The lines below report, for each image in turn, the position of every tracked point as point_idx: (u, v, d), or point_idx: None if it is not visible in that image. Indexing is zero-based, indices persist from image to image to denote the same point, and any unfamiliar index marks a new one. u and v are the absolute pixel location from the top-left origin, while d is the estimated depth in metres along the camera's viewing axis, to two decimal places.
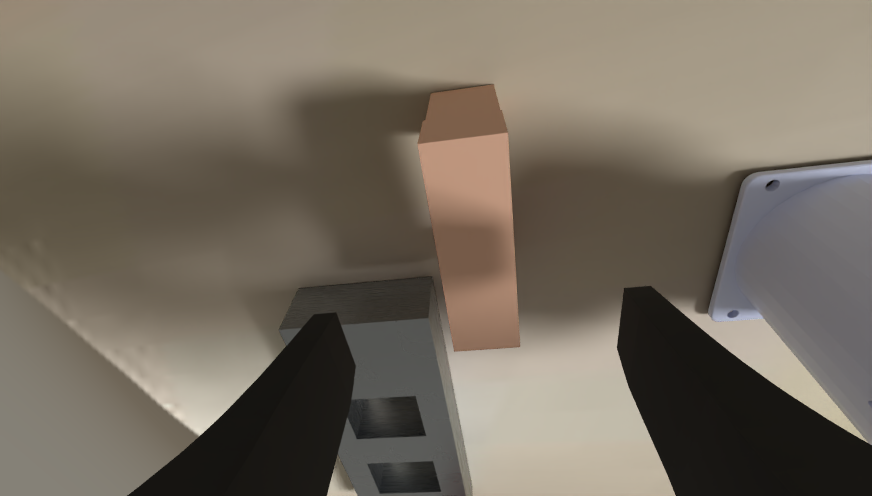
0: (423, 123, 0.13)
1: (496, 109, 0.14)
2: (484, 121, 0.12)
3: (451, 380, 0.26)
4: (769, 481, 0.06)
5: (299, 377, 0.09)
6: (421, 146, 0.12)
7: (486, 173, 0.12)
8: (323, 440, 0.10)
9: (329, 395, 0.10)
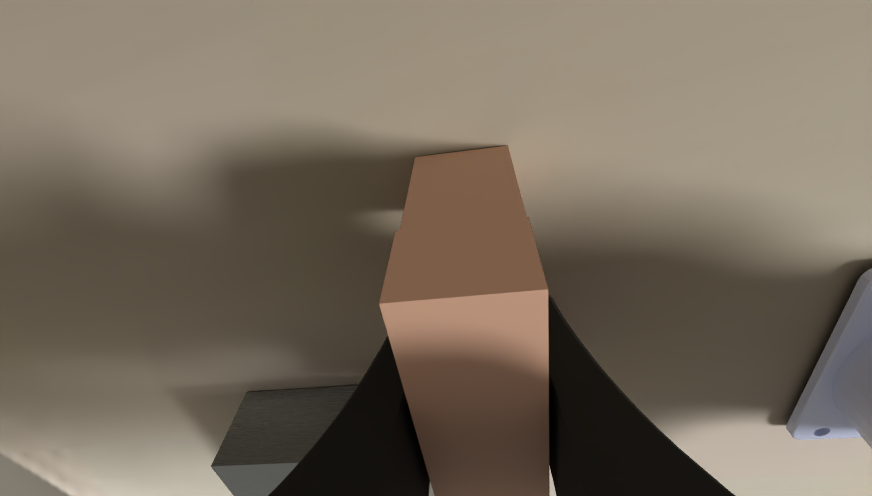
0: (395, 239, 0.08)
1: (517, 205, 0.08)
2: (501, 247, 0.07)
3: None
4: (581, 488, 0.06)
5: None
6: (386, 307, 0.06)
7: (504, 347, 0.07)
8: None
9: None
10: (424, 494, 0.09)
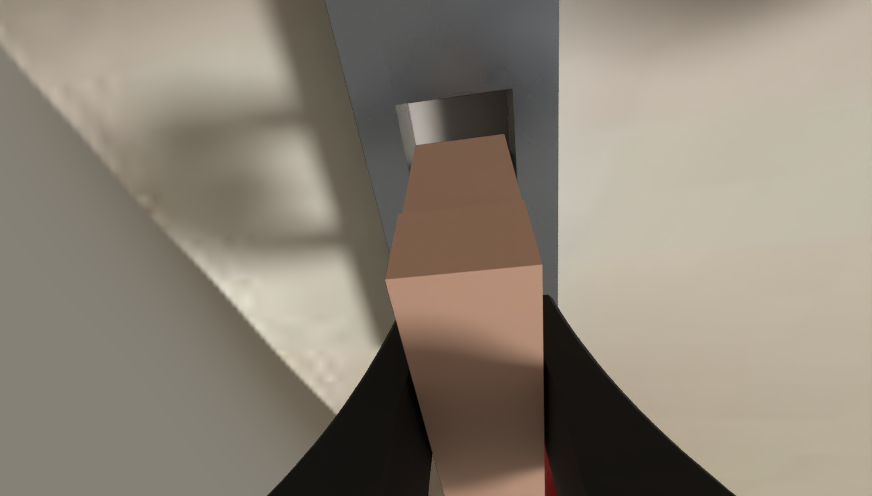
0: (398, 221, 0.08)
1: (513, 190, 0.09)
2: (498, 228, 0.07)
3: None
4: (581, 487, 0.06)
5: None
6: (391, 283, 0.07)
7: (502, 320, 0.07)
8: (425, 435, 0.09)
9: None
10: (423, 494, 0.09)
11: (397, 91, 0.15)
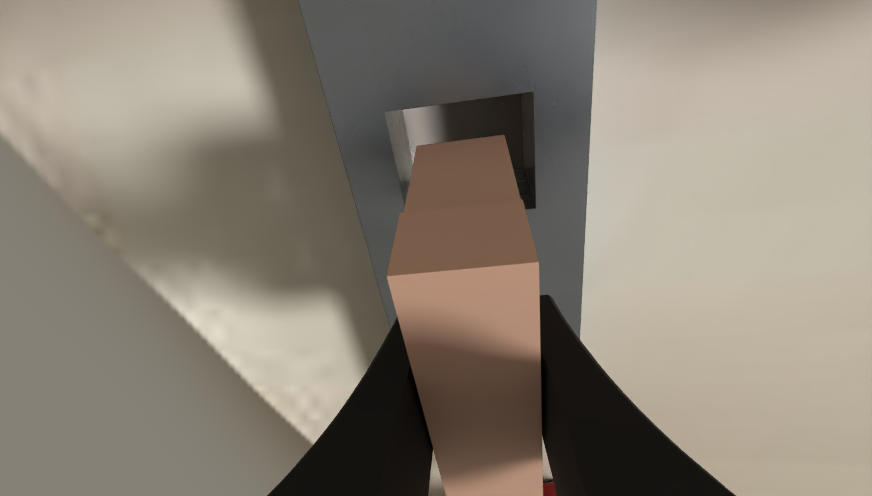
0: (400, 220, 0.08)
1: (512, 189, 0.09)
2: (497, 226, 0.08)
3: None
4: (581, 487, 0.06)
5: (411, 370, 0.09)
6: (393, 279, 0.07)
7: (500, 317, 0.07)
8: (425, 435, 0.09)
9: None
10: (423, 494, 0.09)
11: (387, 95, 0.12)
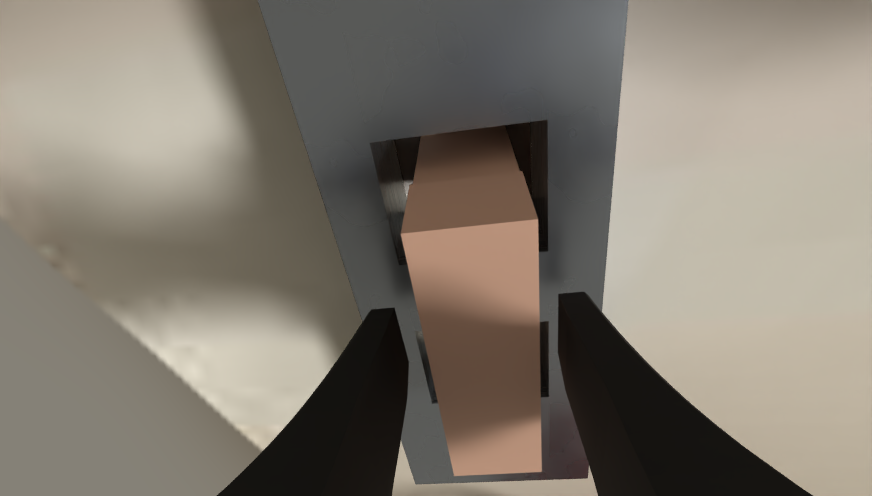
0: (410, 190, 0.09)
1: (512, 165, 0.10)
2: (499, 192, 0.08)
3: None
4: (646, 485, 0.06)
5: (371, 372, 0.09)
6: (406, 237, 0.08)
7: (502, 273, 0.08)
8: (388, 437, 0.10)
9: (392, 391, 0.10)
10: (385, 495, 0.09)
11: (372, 123, 0.10)
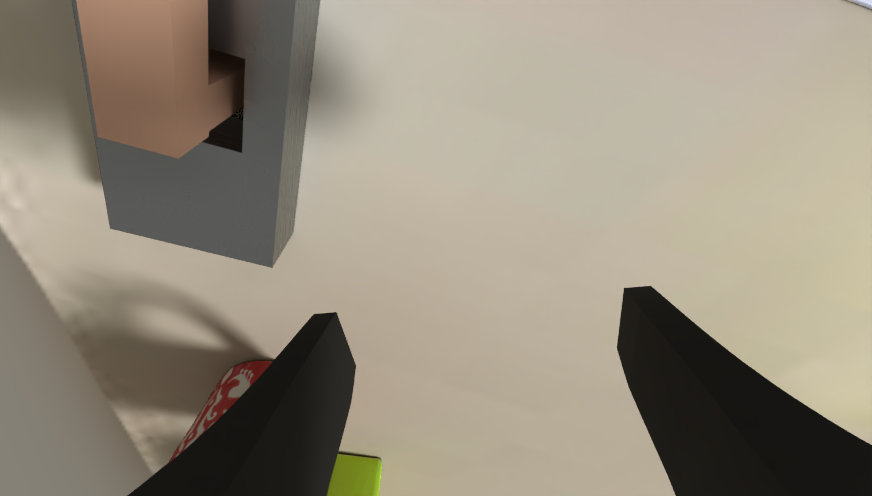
0: None
1: None
2: None
3: None
4: (769, 481, 0.06)
5: (299, 377, 0.09)
6: None
7: None
8: (323, 440, 0.10)
9: (329, 395, 0.10)
10: None
11: None
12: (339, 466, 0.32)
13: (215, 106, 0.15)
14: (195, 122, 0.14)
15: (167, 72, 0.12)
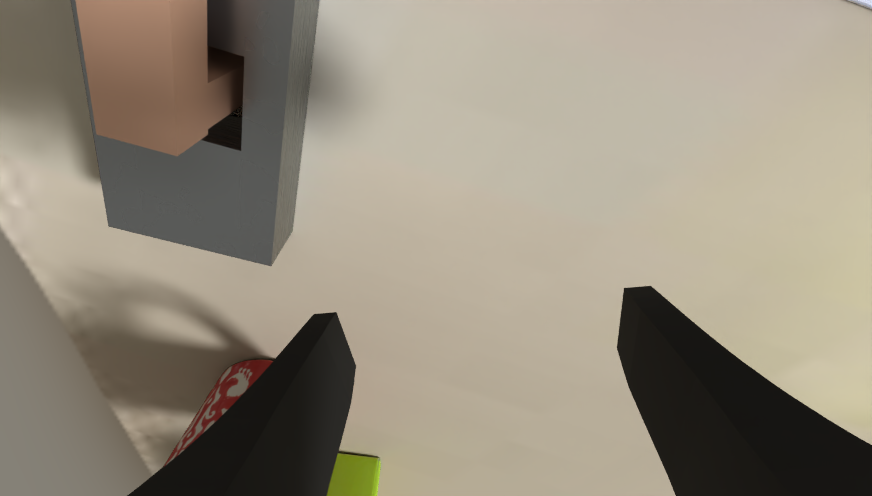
0: None
1: None
2: None
3: None
4: (768, 481, 0.06)
5: (299, 377, 0.09)
6: None
7: None
8: (323, 440, 0.10)
9: (329, 395, 0.10)
10: None
11: None
12: (338, 465, 0.32)
13: (214, 104, 0.15)
14: (194, 120, 0.14)
15: (166, 69, 0.12)
